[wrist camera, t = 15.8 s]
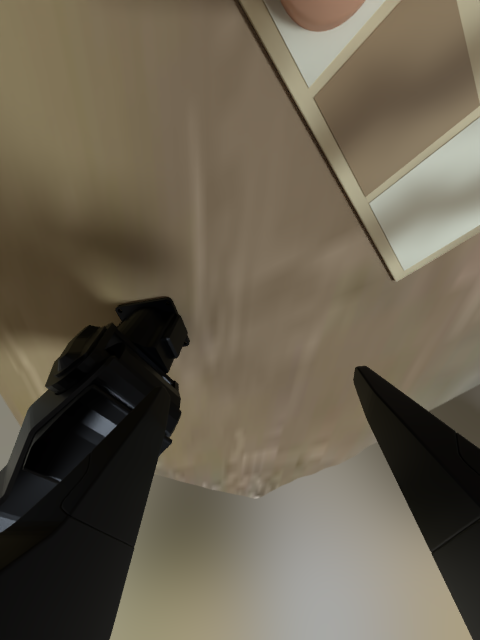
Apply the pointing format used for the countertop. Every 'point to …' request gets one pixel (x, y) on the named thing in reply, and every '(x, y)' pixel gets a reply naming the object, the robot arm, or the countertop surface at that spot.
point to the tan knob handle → (321, 12)
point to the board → (392, 115)
